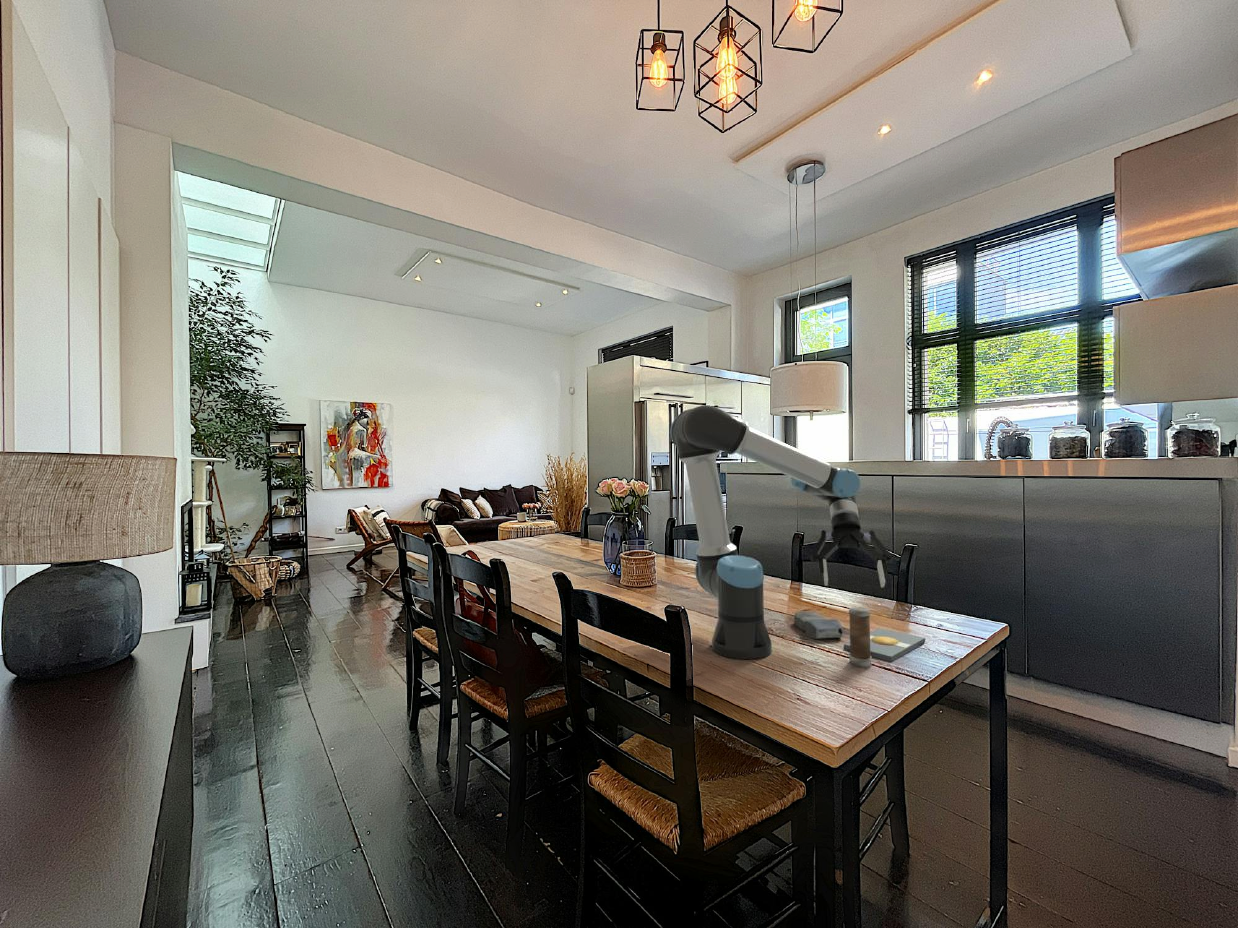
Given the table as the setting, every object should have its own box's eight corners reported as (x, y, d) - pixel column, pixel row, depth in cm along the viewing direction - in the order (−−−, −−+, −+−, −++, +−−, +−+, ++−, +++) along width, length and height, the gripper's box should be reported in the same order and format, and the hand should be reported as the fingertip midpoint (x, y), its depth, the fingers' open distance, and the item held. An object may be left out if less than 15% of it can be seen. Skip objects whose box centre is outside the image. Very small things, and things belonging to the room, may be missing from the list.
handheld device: (814, 619, 165) (813, 604, 165) (847, 641, 145) (847, 624, 145) (784, 621, 164) (783, 605, 164) (813, 643, 144) (813, 625, 144)
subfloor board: (891, 661, 129) (891, 655, 129) (843, 648, 138) (843, 643, 138) (925, 642, 142) (925, 637, 142) (879, 632, 151) (879, 627, 151)
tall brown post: (850, 666, 126) (849, 611, 126) (848, 659, 131) (847, 606, 131) (873, 668, 125) (872, 612, 125) (869, 661, 129) (868, 607, 129)
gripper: (891, 527, 152) (905, 593, 138) (798, 527, 159) (803, 589, 145) (894, 510, 147) (910, 576, 133) (799, 511, 154) (803, 574, 140)
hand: (854, 583), depth 139 cm, fingers open, 13 cm apart
